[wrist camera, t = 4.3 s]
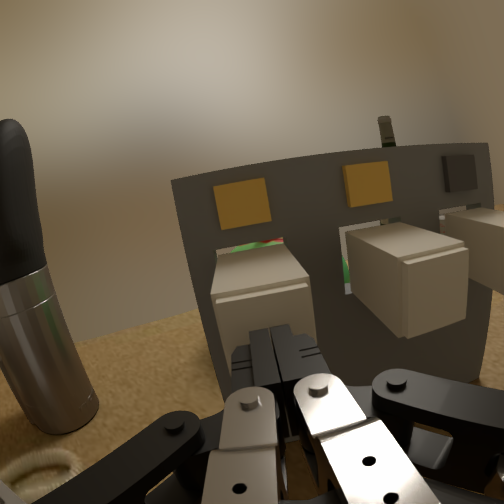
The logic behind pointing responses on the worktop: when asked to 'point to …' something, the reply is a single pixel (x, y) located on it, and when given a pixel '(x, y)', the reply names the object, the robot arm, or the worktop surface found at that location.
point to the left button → (260, 295)
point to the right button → (481, 243)
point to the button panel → (329, 248)
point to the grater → (9, 495)
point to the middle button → (409, 276)
